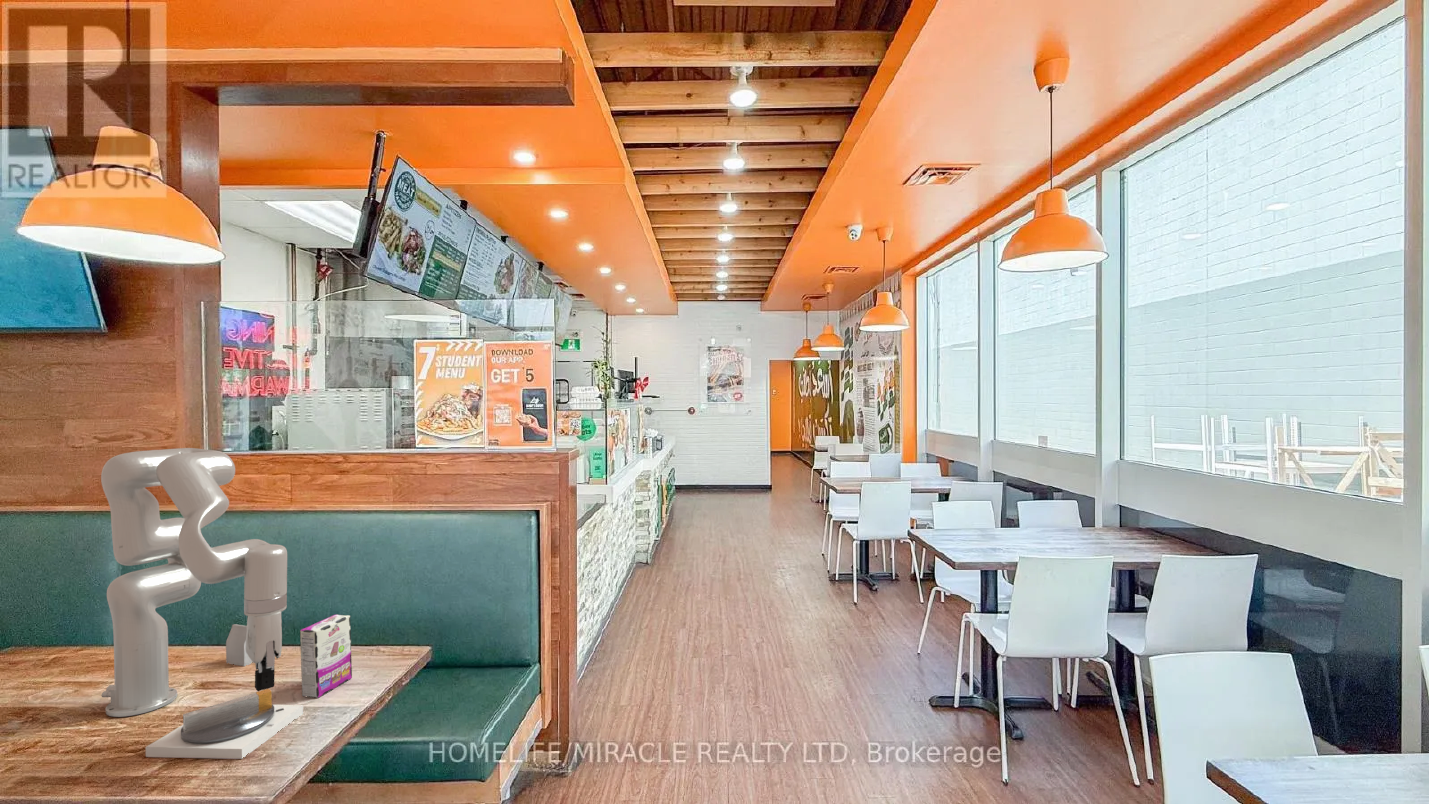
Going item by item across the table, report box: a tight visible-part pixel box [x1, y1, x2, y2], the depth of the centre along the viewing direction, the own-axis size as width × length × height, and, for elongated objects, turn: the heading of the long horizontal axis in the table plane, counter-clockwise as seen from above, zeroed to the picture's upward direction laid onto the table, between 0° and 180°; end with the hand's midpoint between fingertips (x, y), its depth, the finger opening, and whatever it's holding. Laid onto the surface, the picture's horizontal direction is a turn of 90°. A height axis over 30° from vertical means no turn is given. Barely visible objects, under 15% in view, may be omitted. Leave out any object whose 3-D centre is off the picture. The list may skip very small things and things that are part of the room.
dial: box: [181, 688, 274, 744], centre depth 138 cm, size 16×16×5 cm
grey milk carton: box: [225, 623, 253, 667], centre depth 175 cm, size 4×7×10 cm, turn 72°
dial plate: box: [145, 704, 304, 760], centre depth 138 cm, size 20×18×2 cm
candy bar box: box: [299, 614, 353, 699], centre depth 159 cm, size 11×5×16 cm, turn 168°
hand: (264, 687), depth 139 cm, fingers closed
